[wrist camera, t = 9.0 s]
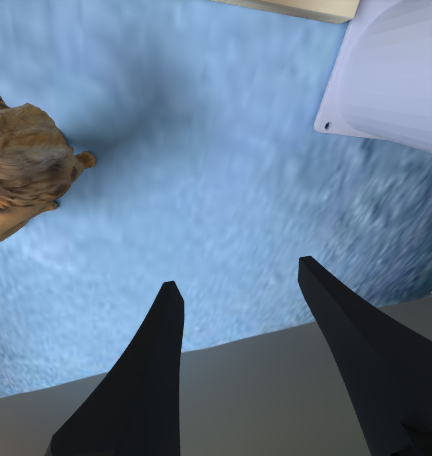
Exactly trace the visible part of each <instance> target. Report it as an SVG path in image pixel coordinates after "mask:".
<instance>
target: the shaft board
mask: <svg viewBox="0 0 432 456" xmlns="http://www.w3.org/2000/svg"><path fill="white" fill-rule="evenodd" d="M210 1H215V2H221V3H226V4H232V5H237V6H242V7H248V8H253V9H259V10H264V11H269V12H275V13H280V14H286V15H291V16H296V17H302V18H307V19H313V20H318V21H323V22H329V23H334V24H341V23H343V22H346V21H348V20H351V19H353V18H354V15H355V12H356V10H357V7H358V4H359V1H360V0H210Z"/></svg>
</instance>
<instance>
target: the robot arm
mask: <svg viewBox="0 0 432 456" xmlns="http://www.w3.org/2000/svg"><path fill="white" fill-rule="evenodd" d="M328 122H329V126H328V128H326V129H325V125H326V123H328ZM313 127H314V130H315V131H317V132H321V133H330V134H338V135H346V136H355V137H363V138H372V139H380V140H389V141H393V142H397V143H400V144H403V145H406V146H409V147H413V148H416V149H419V150H422V151H425V152H429V153H432V0H360V1H359V4H358V7H357V10H356V12H355V15H354V18H353V19H351V20H350V22H349V25H348V28H347V31H346V33H345V36H344V39H343V42H342V45H341V48H340V51H339V53H338V56H337V59H336V62H335V65H334V68H333V71H332V73H331V76H330V79H329V82H328V85H327V88H326V91H325V93H324V96H323V99H322V102H321V105H320V108H319V111H318V113H317V116H316V119H315V122H314V126H313ZM298 283H299V286H300V288H301V291H302V293H303V296H304V298H305V300H306V302H307V304H308V306H309V308H310V310H311V312H312V314H313V316H314V318H315V319H316V321H317V323H318V325H319V327H320V329H321V330H322V332H323V334H324V336H325V338H326V341H327V342H328V344H329V347H330V349H331V352H332V354H333V356H334V359H335V361H336V363H337V366H338V368H339V371H340V373H341V376H342V378H343V381H344V383H345V386H346V388H347V391H348V393H349V396H350V398H351V401H352V404H353V406H354V409H355V411H356V415H357V417H358V420H359V423H360V426H361V428H362V431H363V434H364V437H365V439H366V442H367V445H368V448H369V451H370V453H371V455H372V456H432V341H430V340H429V339H427V338H425V337H423V336H422V335H420V334H418V333H416V332H415V331H413V330H411V329H409V328H408V327H406V326H404V325H402V324H401V323H399V322H397V321H396V320H394V319H393V318H391V317H389V316H388V315H386V314H385V313H383V312H382V311H380V310H378V309H377V308H376V307H374V306H373V305H371V304H370V303H368V302H367V301H366V300H364V299H363V298H361V297H360V296H359V295H357V294H356V293H355V292H353V291H352V290H351V289H349V288H348V287H347V286H346V285H344V284H343V283H342V282H341V281H339V280H338V279H337V278H336V277H335V276H333V275H332V274H331V273H330V272H329V271H327V270H326V269H325V268H324V267H323V266H322V265H321V264H320V263H318V262H317V261H316V260H315V259H314V258H313V257H312V256H306V257H300V258H299V271H298ZM183 328H184V300H183V298H182V296H181V294H180V292H179V290H178V288H177V286H176V284H175V282H174V281H169V282H164V283H163V284H162V287H161V289H160V291H159V293H158V295H157V297H156V299H155V301H154V302H153V304H152V306H151V308H150V310H149V312H148V314H147V315H146V317H145V319H144V321H143V323H142V324H141V326H140V328H139V329H138V331H137V333H136V334H135V336H134V337H133V339H132V341H131V342H130V344H129V345H128V347H127V348H126V350H125V351H124V352H123V354H122V355H121V357H120V358H119V359H118V361H117V362H116V363H115V365H114V366H113V367H112V369H111V370H110V371H109V373H108V374H107V375H106V377H105V378H104V379H103V380H102V382H101V383H100V384H99V385H98V386H97V387H96V389H95V390H94V391H93V392H92V393H91V395H90V396H89V397H88V398H87V400H86V401H85V402H84V403H83V404H82V405H81V406H80V407H79V408H78V410H77V411H76V412H75V413H74V414H73V415H72V416H71V417H70V418H69V419H68V420H67V421H66V422H65V423H64V425H63V426H62V427H61V428H60V429H59V430H58V431H57V432H56V433H55V434H54V435H53V437H52V439H51V441H50V443H49V446H48V448H47V450H46V453H45V455H44V456H180V431H179V369H180V356H181V347H182V337H183Z"/></svg>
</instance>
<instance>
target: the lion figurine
mask: <svg viewBox="0 0 432 456" xmlns="http://www.w3.org/2000/svg"><path fill="white" fill-rule="evenodd" d="M95 164H96V159H95V157H94V155H93V154H91V153H89V152H88V151H84V152H82V153H81V154H78V155H76V156H74V148H73V147H70V146H69V145H68V144H67V143H66V141H65V139H64V137H63V135H62V133H61V132H60V129H58V128H57V127H56V126H55V122H54V120H53V119H52V118H50V117H49V116H48V115H47V113H46V112H45V111H42V110H41V109H40V108H38V107H36V106H34V105H31V104H29V103H26V104H24V105H22V106H19V107H15V108H10V107H8V106H7V105H6V104H5V102H4V101H3V100H2V98H1V96H0V242H1V241H3V240H5V239H6V238H8V237H9V236H11V235H13V234H14V233H15V232H17V231H18V230H19V229H21V228H22V227H23V226H24V225H25V224H26V223H27V222H28V221H29V220H30V219H31V218H33V217H35V216H37V215H38V214H40V213H43V212H45V211H50V210H55V209H56V208H57V203H56V202H55V201H53V200H55V199H58V198H60V197H61V196H62V195H63V194H64V193H65V192H66V191H67V190H68V189H69V188H70V186H71V183H73V182H74V181H76V179H77V178H78V177H79V176H80V174H81V173H82V172H83V170H84V169H86V168H89V167H93V166H95Z"/></svg>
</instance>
